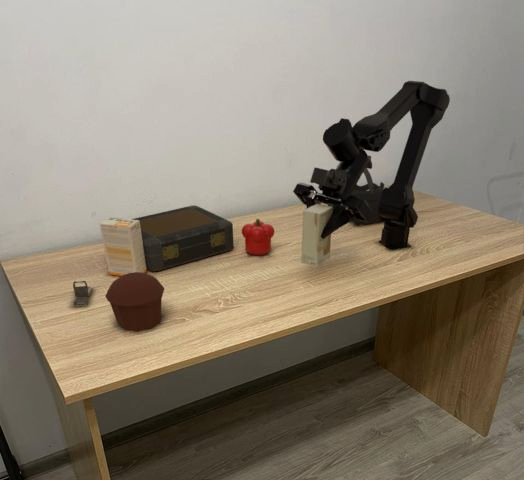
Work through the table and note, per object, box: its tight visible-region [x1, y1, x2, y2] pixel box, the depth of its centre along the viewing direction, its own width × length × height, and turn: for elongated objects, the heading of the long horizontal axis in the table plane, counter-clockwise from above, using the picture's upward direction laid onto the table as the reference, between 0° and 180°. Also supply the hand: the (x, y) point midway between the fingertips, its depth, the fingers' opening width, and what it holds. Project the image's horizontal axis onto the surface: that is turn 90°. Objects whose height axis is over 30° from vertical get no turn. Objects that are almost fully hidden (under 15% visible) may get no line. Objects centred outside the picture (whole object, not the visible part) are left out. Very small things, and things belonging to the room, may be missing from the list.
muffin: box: [104, 272, 165, 333], centre depth 108 cm, size 12×11×10 cm
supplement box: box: [99, 216, 148, 277], centre depth 127 cm, size 8×5×13 cm, turn 70°
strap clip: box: [72, 280, 92, 307], centre depth 118 cm, size 8×3×4 cm, turn 8°
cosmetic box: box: [300, 203, 333, 267], centre depth 119 cm, size 6×4×12 cm
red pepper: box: [241, 218, 275, 257], centre depth 139 cm, size 7×7×9 cm
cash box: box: [131, 204, 234, 272], centre depth 141 cm, size 25×20×8 cm
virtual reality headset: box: [327, 168, 385, 226], centre depth 163 cm, size 19×24×15 cm
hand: (313, 234), depth 118 cm, fingers closed on cosmetic box, 5 cm apart
